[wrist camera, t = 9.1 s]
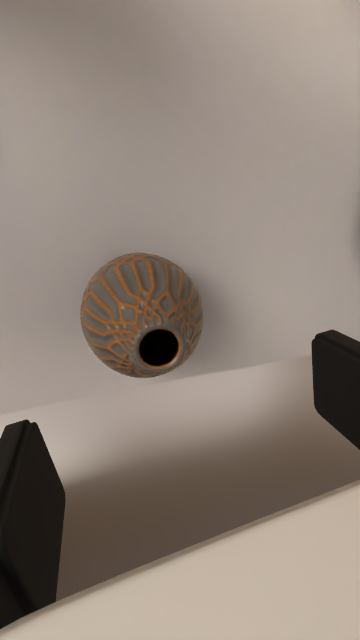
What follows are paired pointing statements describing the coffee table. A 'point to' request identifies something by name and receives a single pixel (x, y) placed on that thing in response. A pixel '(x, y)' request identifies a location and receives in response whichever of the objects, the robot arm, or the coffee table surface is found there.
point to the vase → (141, 315)
